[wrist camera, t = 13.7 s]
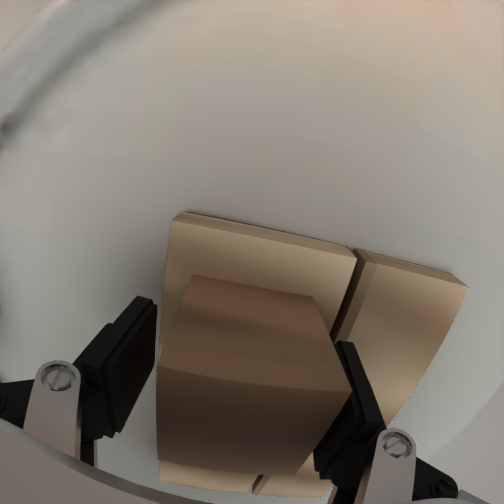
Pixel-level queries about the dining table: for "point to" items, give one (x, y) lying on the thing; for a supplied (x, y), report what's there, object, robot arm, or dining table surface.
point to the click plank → (248, 273)
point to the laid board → (383, 341)
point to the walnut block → (246, 380)
